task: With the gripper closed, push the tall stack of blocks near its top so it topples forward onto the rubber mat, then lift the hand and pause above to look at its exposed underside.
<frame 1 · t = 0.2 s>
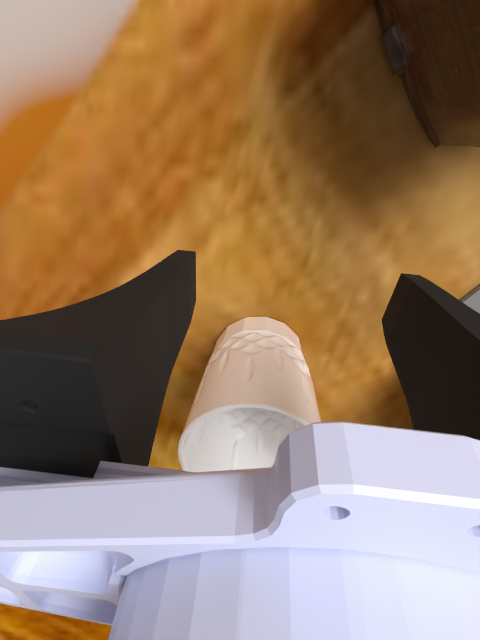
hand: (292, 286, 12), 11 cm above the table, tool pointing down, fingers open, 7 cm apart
white cup: (258, 351, 27), on the table
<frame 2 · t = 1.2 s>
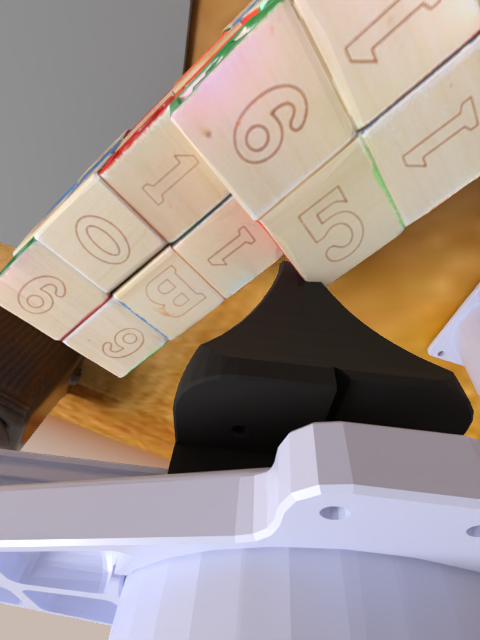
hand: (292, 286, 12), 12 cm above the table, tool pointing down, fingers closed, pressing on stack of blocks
stack of blocks: (235, 117, 18), point 3 cm above the table, touching gripper
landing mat: (57, 97, 22), on the table
pepper mill: (41, 332, 35), on the table
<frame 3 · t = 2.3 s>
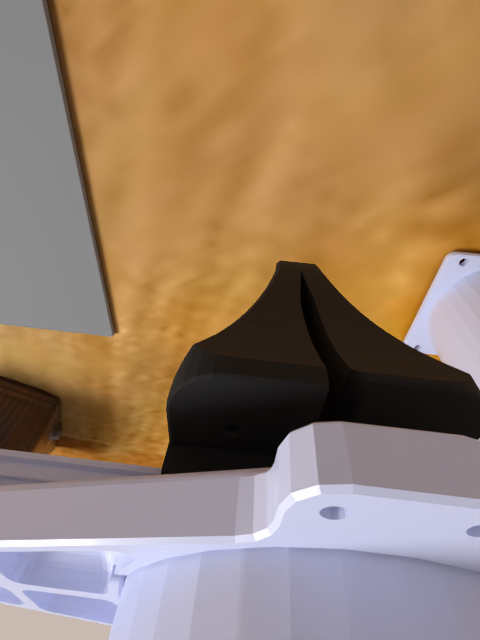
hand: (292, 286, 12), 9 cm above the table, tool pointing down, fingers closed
pepper mill: (12, 394, 34), on the table
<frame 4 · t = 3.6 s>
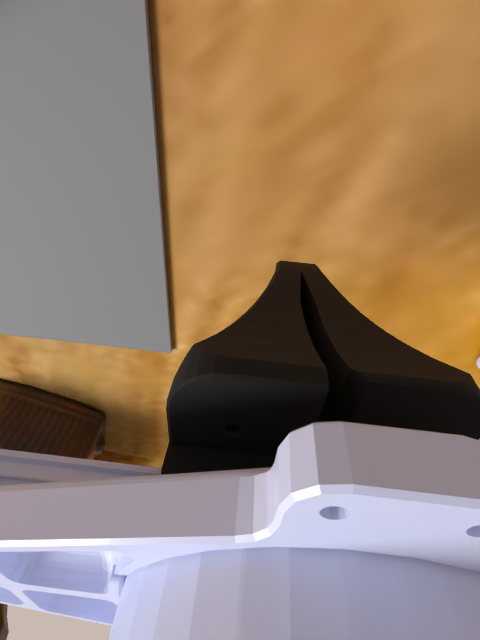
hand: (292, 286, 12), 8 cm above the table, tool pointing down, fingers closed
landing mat: (20, 178, 19), on the table
pepper mill: (55, 408, 33), on the table
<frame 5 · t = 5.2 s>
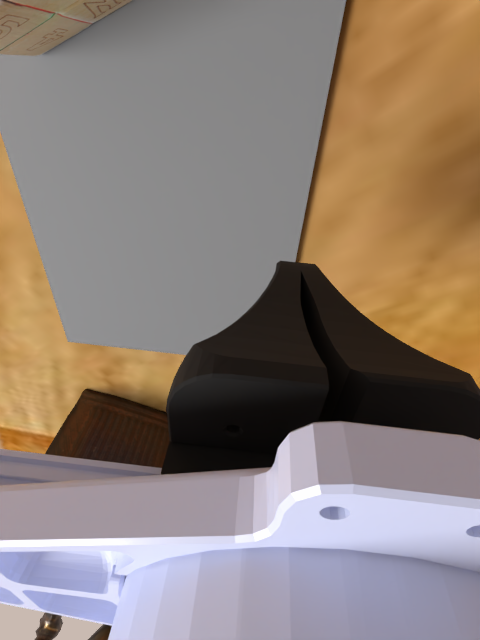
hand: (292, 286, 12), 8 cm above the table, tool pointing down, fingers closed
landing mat: (161, 192, 19), on the table
pepper mill: (137, 418, 33), on the table
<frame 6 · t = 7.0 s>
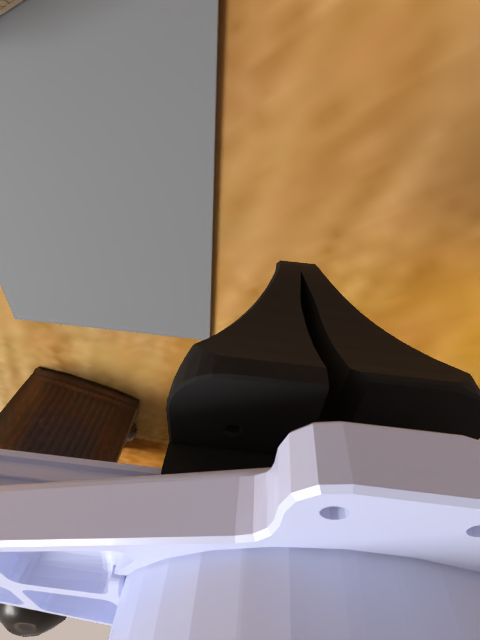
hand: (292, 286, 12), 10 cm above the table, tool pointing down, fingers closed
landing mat: (82, 173, 21), on the table
pepper mill: (90, 396, 35), on the table
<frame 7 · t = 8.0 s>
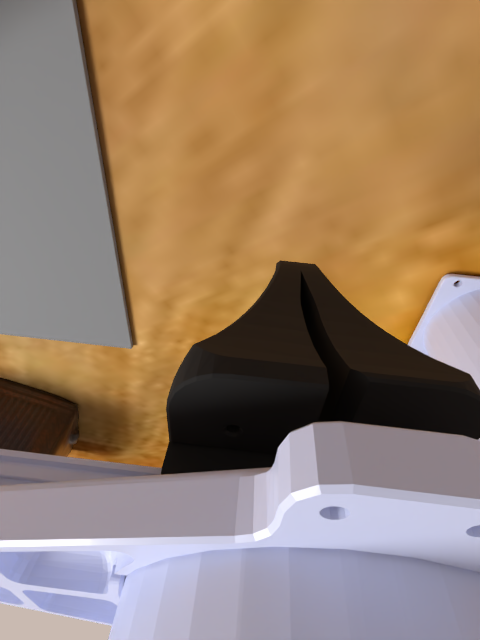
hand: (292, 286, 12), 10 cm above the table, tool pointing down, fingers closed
pepper mill: (32, 401, 36), on the table
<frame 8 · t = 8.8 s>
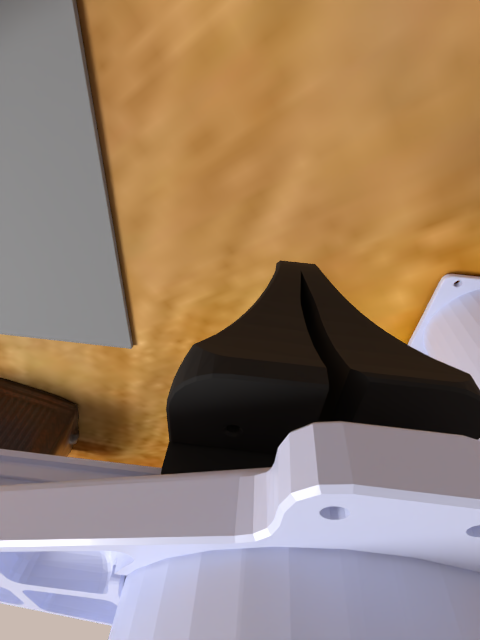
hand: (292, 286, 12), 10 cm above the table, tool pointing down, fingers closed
pepper mill: (32, 401, 36), on the table
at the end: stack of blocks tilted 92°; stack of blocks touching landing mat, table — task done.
